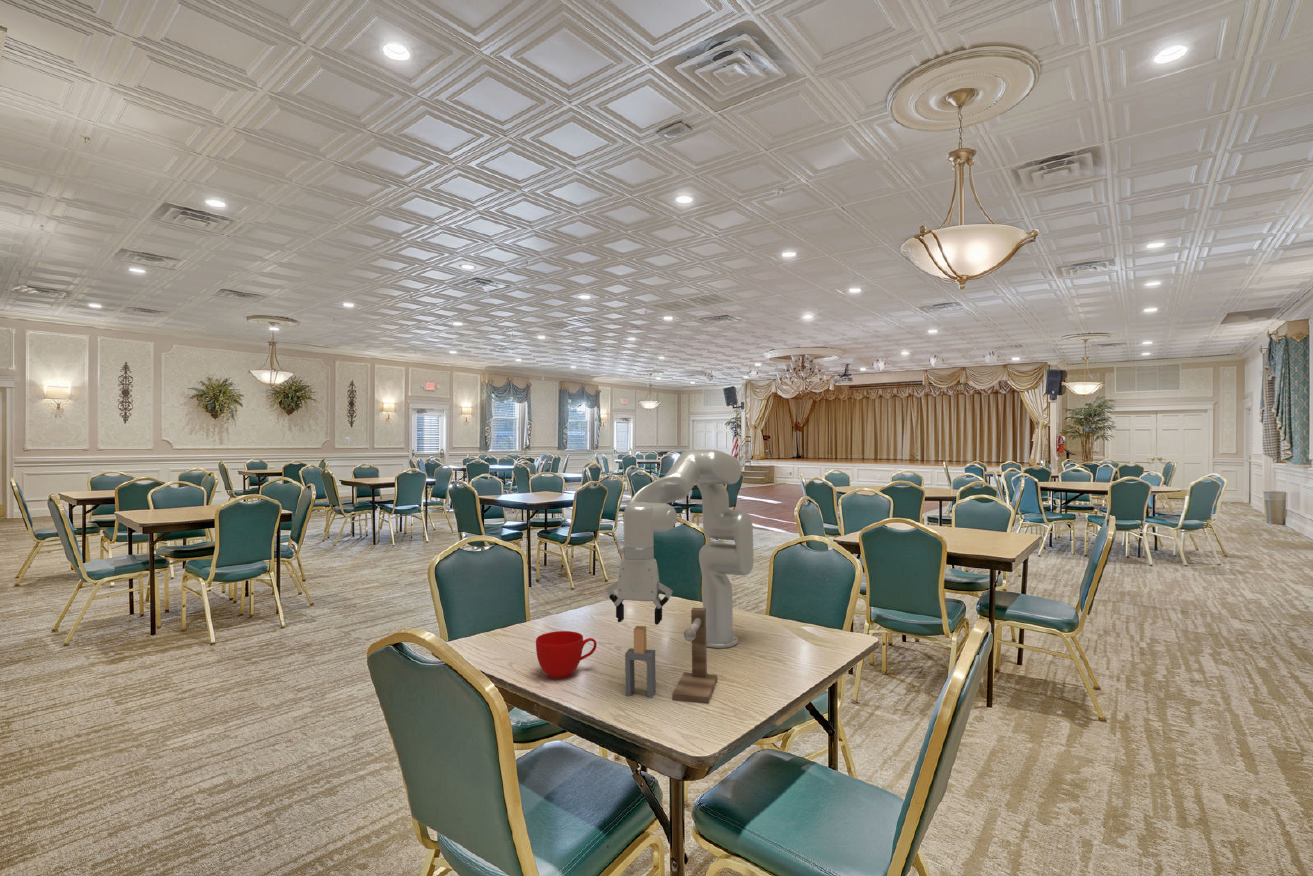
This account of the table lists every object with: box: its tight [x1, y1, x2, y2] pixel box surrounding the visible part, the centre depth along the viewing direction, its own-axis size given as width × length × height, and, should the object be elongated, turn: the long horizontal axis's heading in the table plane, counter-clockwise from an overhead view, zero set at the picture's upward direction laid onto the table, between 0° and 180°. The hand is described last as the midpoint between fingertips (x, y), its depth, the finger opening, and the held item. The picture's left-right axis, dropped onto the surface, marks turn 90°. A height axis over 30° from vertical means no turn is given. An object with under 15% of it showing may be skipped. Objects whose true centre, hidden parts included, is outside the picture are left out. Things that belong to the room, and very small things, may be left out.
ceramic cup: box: [535, 630, 597, 679], centre depth 163 cm, size 13×17×10 cm
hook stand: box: [671, 607, 718, 704], centre depth 150 cm, size 16×9×19 cm, turn 166°
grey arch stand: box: [624, 625, 657, 699], centre depth 149 cm, size 7×4×16 cm, turn 76°
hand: (639, 622), depth 149 cm, fingers open, 9 cm apart
